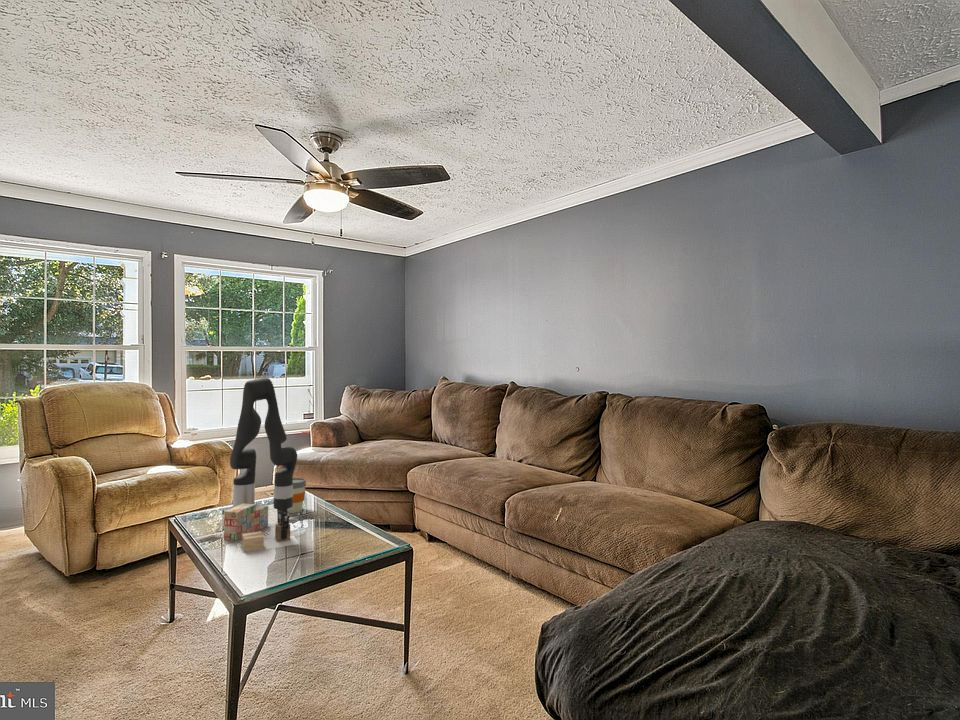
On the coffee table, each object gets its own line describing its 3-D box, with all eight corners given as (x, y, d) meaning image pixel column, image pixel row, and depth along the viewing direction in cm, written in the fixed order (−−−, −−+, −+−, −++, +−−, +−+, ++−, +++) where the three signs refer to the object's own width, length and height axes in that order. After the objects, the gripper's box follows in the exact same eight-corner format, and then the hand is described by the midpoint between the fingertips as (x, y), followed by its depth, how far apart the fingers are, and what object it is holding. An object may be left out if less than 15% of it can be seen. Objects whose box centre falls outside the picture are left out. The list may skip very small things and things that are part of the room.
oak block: (242, 546, 201) (242, 533, 201) (261, 543, 205) (261, 531, 205) (244, 552, 195) (244, 539, 195) (263, 549, 199) (263, 536, 199)
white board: (236, 544, 204) (236, 543, 204) (293, 536, 216) (293, 535, 216) (239, 554, 194) (239, 553, 194) (299, 544, 205) (299, 543, 205)
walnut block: (275, 538, 211) (275, 523, 211) (287, 536, 214) (288, 522, 214) (277, 541, 207) (277, 527, 207) (290, 540, 210) (290, 525, 210)
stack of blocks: (255, 525, 231) (256, 498, 231) (268, 526, 229) (268, 498, 230) (223, 540, 210) (223, 510, 210) (236, 541, 208) (237, 511, 209)
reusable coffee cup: (310, 508, 258) (311, 479, 258) (293, 515, 246) (294, 484, 247) (291, 506, 262) (291, 477, 263) (273, 512, 251) (273, 482, 251)
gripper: (271, 493, 215) (270, 533, 215) (276, 500, 203) (275, 543, 202) (289, 491, 219) (288, 530, 218) (296, 498, 207) (295, 540, 206)
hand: (282, 536), depth 210 cm, fingers closed on walnut block, 5 cm apart
